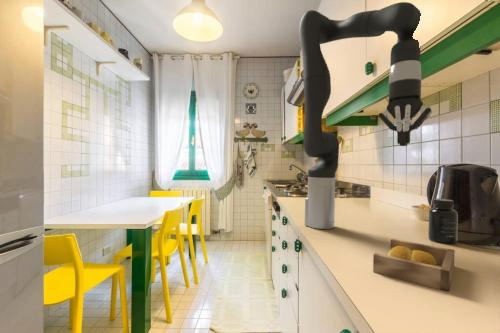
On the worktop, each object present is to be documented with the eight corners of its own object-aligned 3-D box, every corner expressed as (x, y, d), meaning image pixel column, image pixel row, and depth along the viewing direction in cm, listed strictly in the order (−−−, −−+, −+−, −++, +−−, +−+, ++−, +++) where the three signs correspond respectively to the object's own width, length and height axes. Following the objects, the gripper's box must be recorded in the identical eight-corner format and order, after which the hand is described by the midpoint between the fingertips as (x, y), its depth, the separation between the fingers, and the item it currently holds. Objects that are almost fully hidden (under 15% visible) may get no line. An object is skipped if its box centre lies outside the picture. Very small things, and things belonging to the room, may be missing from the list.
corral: (373, 271, 53) (373, 254, 53) (391, 253, 65) (391, 238, 65) (448, 291, 45) (449, 271, 45) (454, 266, 57) (454, 249, 57)
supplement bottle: (423, 237, 80) (424, 197, 80) (447, 238, 79) (448, 198, 79) (437, 244, 73) (437, 200, 73) (463, 245, 72) (464, 201, 72)
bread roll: (435, 278, 51) (436, 257, 51) (384, 266, 56) (385, 248, 56) (437, 265, 57) (438, 247, 57) (392, 256, 63) (392, 239, 63)
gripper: (436, 80, 70) (434, 145, 70) (381, 89, 78) (380, 147, 78) (432, 72, 64) (431, 143, 64) (374, 83, 72) (373, 145, 73)
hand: (403, 145), depth 71 cm, fingers closed
